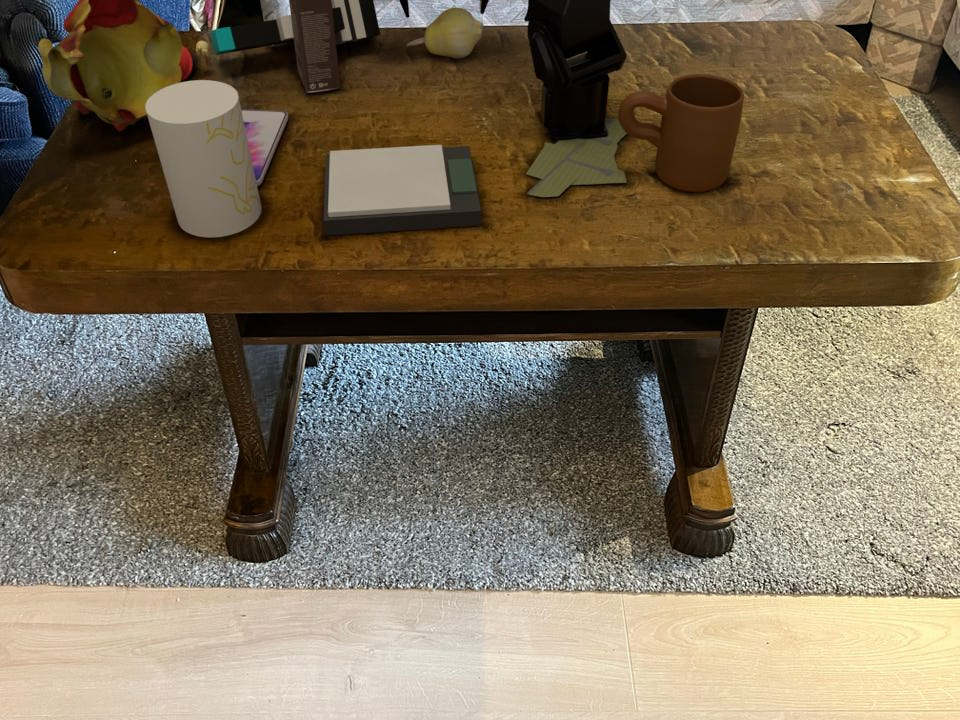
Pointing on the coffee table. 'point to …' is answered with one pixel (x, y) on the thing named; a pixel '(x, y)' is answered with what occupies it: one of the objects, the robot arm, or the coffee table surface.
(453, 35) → the fruit
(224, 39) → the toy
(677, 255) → the coffee table surface
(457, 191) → the scale
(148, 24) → the toy
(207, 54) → the toy figurine
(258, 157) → the smartphone
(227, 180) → the cup
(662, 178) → the mug
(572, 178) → the map
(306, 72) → the box
